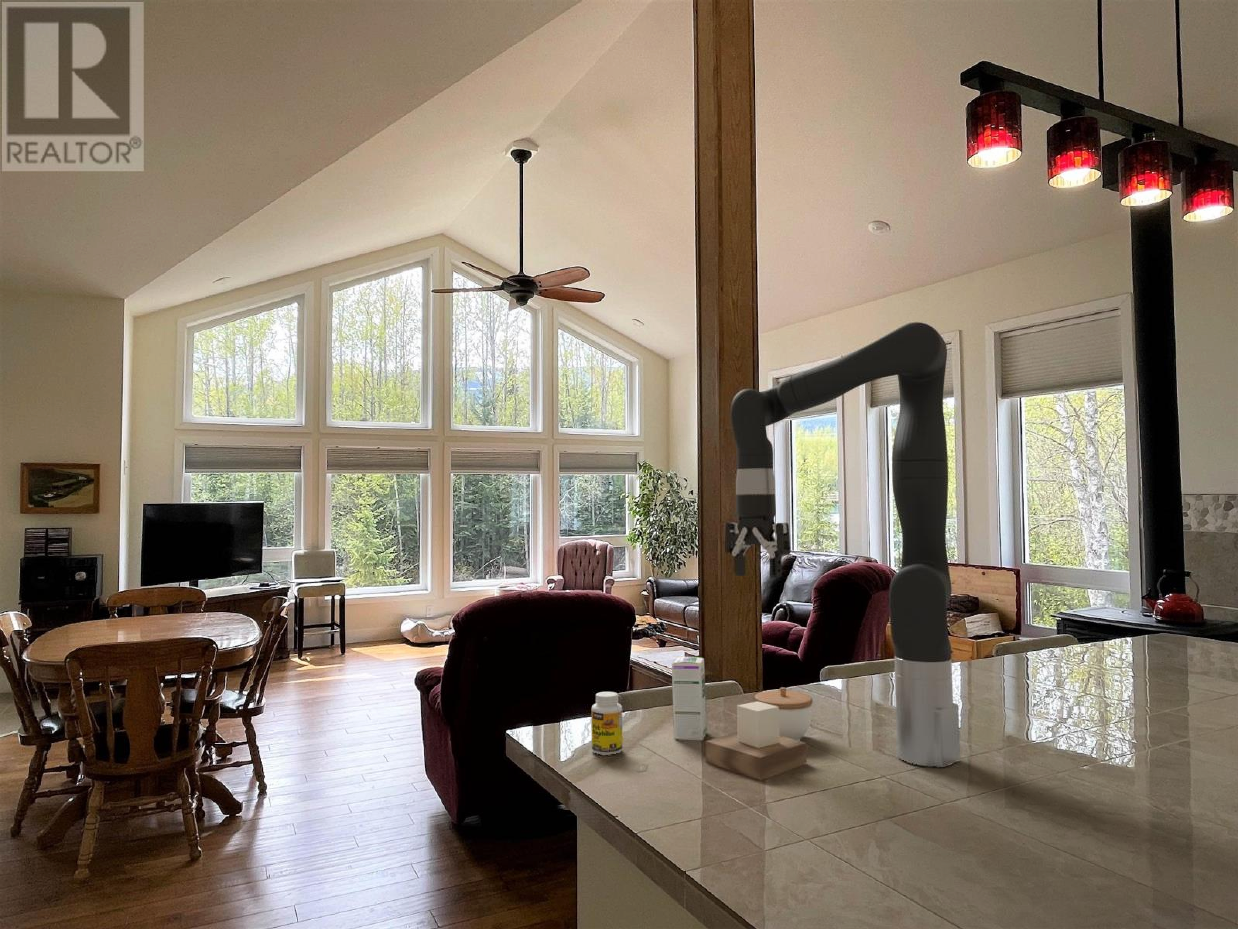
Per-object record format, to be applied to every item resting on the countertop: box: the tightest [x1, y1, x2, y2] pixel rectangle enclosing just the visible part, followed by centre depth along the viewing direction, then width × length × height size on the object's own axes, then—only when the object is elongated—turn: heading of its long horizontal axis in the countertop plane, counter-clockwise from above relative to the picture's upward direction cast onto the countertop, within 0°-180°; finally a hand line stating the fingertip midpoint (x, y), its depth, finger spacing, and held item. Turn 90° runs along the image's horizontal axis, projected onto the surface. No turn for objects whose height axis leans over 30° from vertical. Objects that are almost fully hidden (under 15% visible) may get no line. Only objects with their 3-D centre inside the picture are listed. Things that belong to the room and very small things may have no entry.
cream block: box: [736, 701, 780, 748], centre depth 134 cm, size 5×5×6 cm
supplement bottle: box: [590, 691, 623, 756], centre depth 141 cm, size 6×6×10 cm
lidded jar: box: [754, 686, 813, 741], centre depth 148 cm, size 11×11×9 cm
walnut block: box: [705, 731, 808, 781], centre depth 134 cm, size 12×12×4 cm
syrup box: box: [671, 656, 708, 741], centre depth 151 cm, size 6×6×14 cm
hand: (757, 576), depth 152 cm, fingers open, 8 cm apart
